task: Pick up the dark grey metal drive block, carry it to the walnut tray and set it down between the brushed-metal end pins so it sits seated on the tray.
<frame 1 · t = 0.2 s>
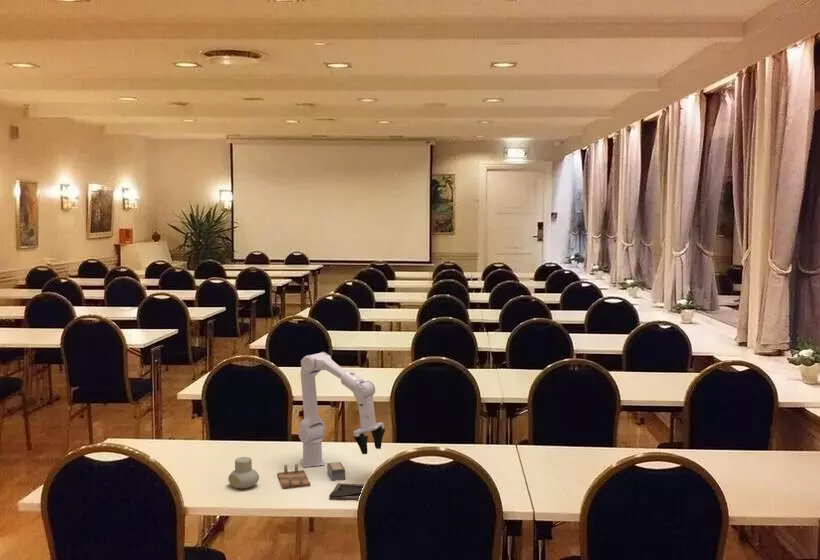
hand: (371, 451, 294), 10 cm above the table, tool pointing down, fingers open, 7 cm apart
pin tray: (293, 480, 293), on the table
air freshener: (243, 486, 288), on the table
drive: (336, 476, 298), on the table
picture frame: (358, 495, 280), on the table
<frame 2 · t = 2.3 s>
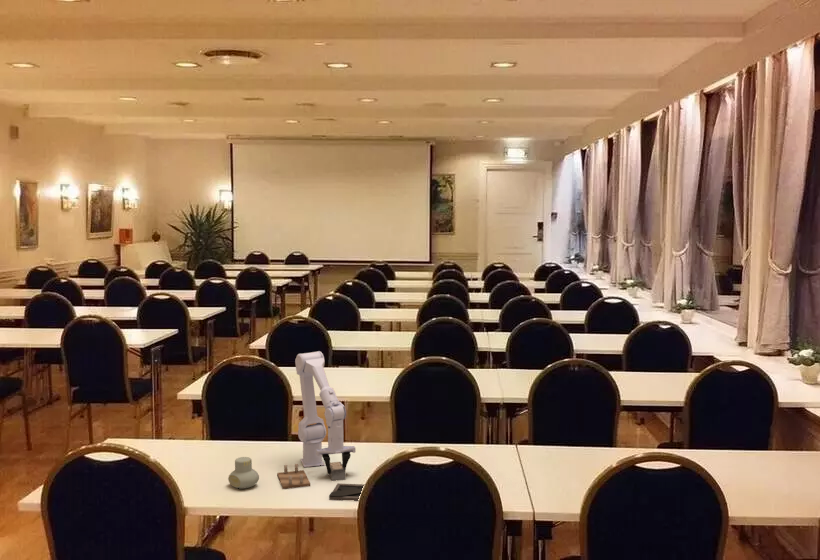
hand: (336, 472, 298), 1 cm above the table, tool pointing down, fingers closed on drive, 5 cm apart
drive: (336, 476, 298), on the table, touching gripper
everything else where it was.
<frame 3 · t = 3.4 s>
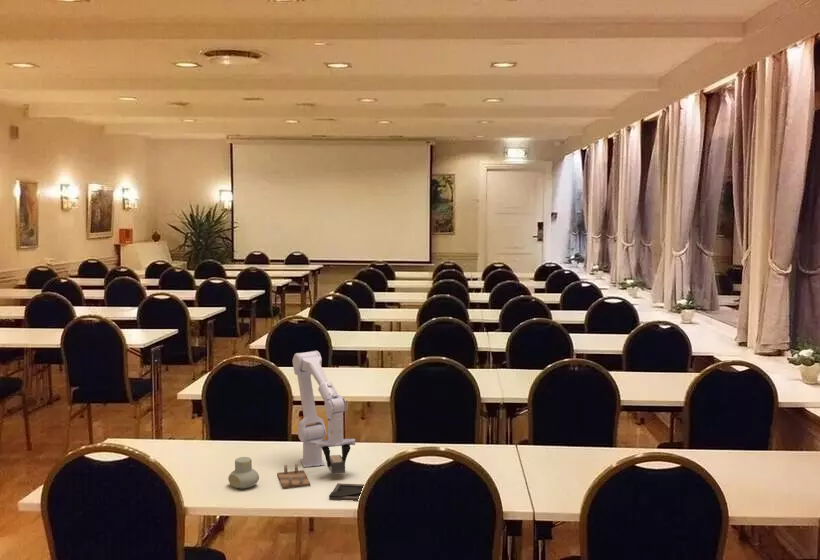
hand: (336, 465, 298), 4 cm above the table, tool pointing down, fingers closed on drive, 5 cm apart
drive: (336, 469, 298), point 3 cm above the table, touching gripper
everything else where it was.
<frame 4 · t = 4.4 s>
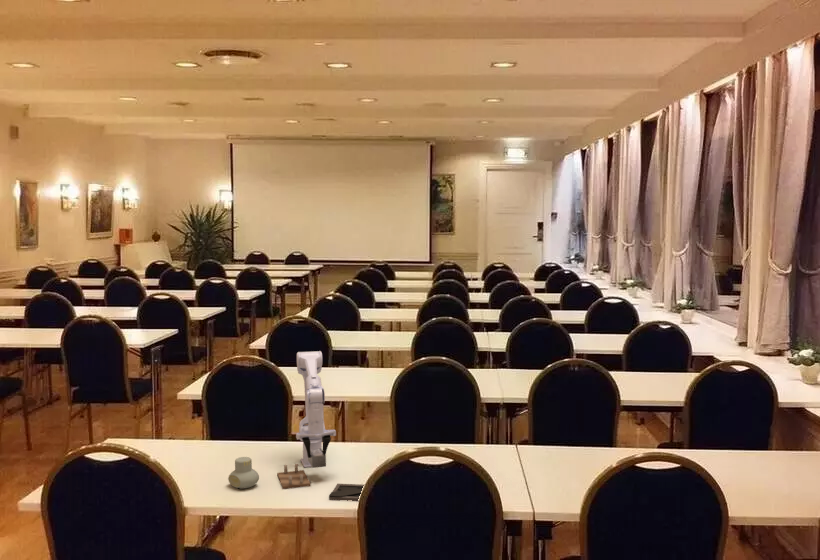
hand: (316, 456, 295), 8 cm above the table, tool pointing down, fingers closed on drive, 5 cm apart
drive: (316, 463, 295), point 6 cm above the table, touching gripper
everything else where it was.
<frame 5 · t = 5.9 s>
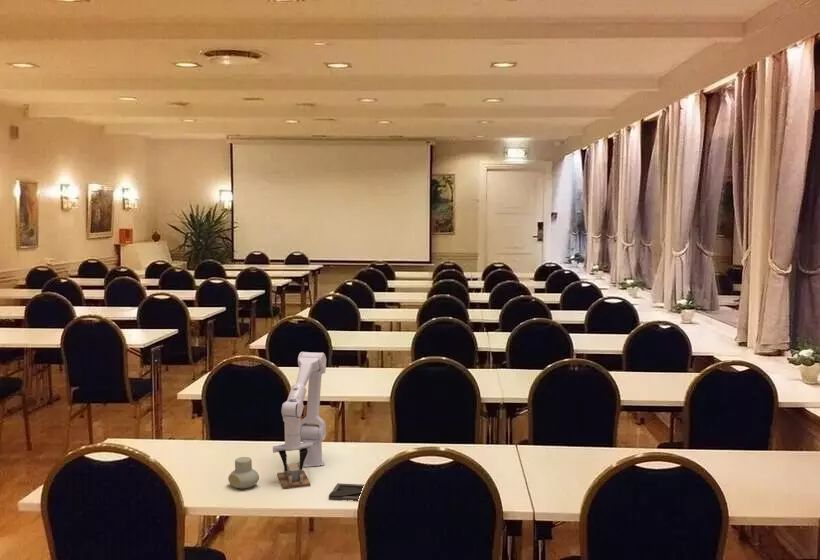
hand: (293, 469, 293), 4 cm above the table, tool pointing down, fingers closed on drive, 5 cm apart
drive: (293, 478, 293), point 1 cm above the table, touching gripper, pin tray
everything else where it was.
when the fingers open (4 cm above the table, at t = 6.5 s): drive stays where it is, resting on pin tray.
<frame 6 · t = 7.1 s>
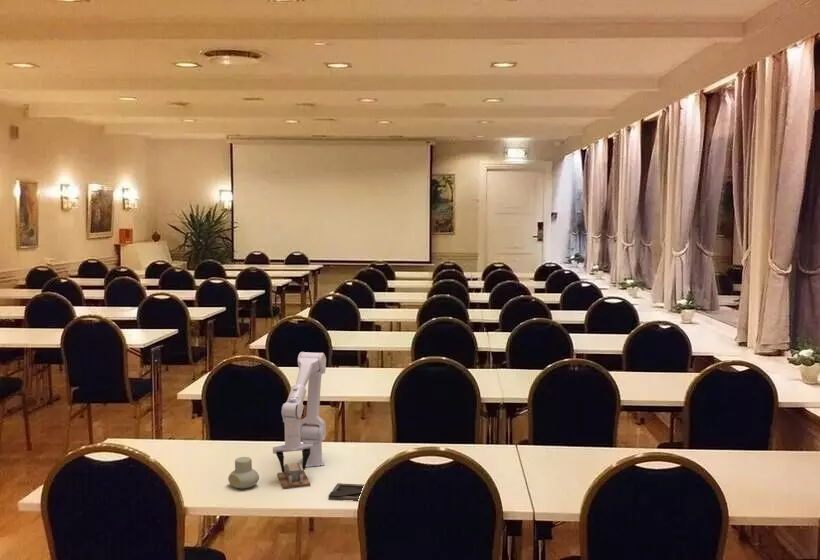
hand: (293, 470, 293), 4 cm above the table, tool pointing down, fingers open, 7 cm apart
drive: (293, 478, 293), point 1 cm above the table, touching pin tray
everything else where it was.
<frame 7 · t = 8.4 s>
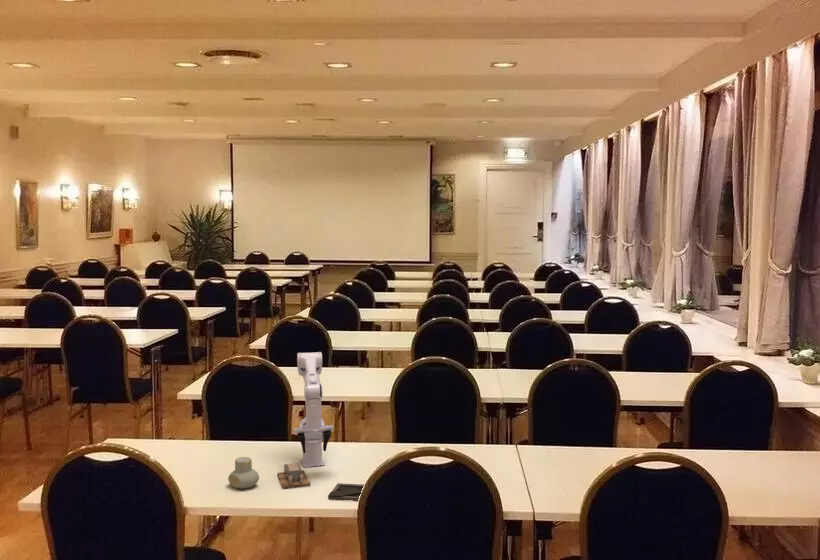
hand: (314, 451, 298), 9 cm above the table, tool pointing down, fingers open, 7 cm apart
nothing on the table moved.
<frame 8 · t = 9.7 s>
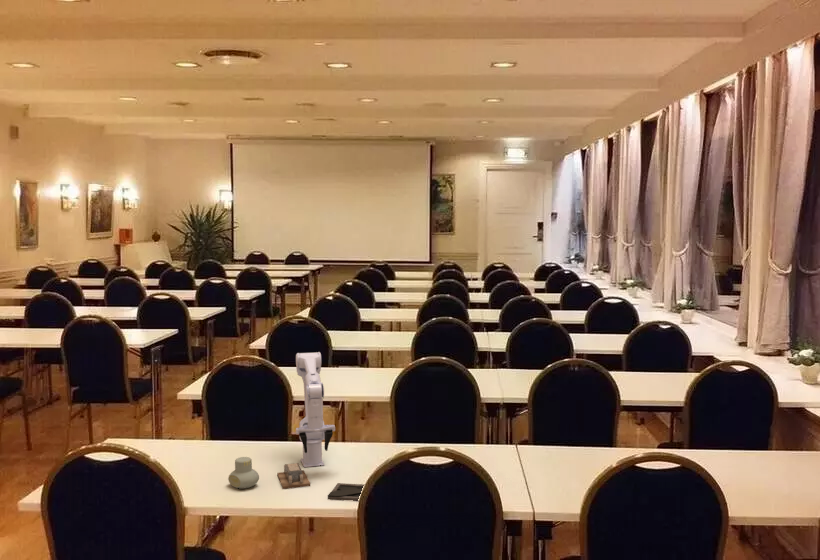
hand: (315, 451, 298), 9 cm above the table, tool pointing down, fingers open, 7 cm apart
nothing on the table moved.
at the end: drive 0.1 cm off-centre on the pin tray, point 1.0 cm above the pin tray's base; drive tilted 0°; the gripper is holding nothing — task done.
